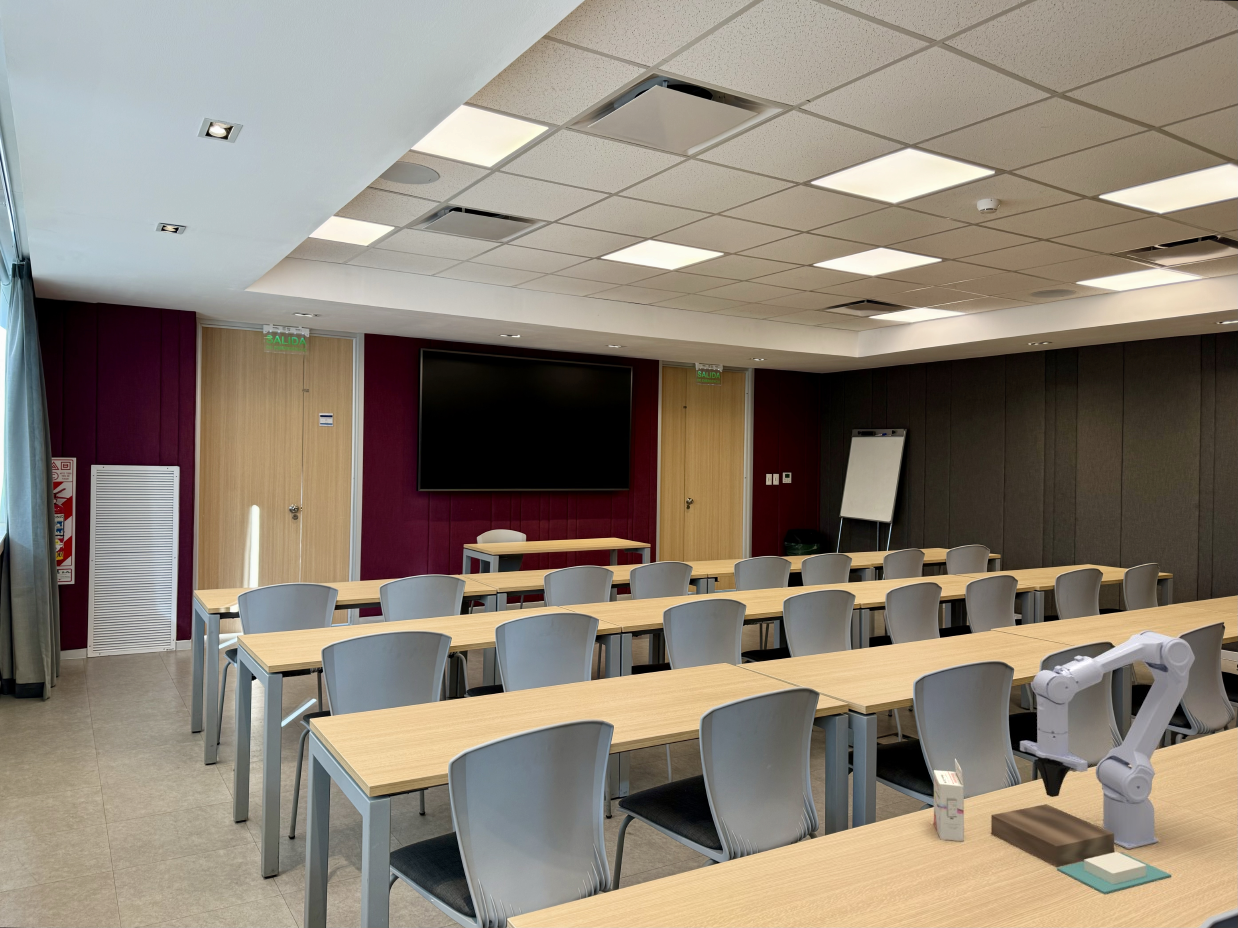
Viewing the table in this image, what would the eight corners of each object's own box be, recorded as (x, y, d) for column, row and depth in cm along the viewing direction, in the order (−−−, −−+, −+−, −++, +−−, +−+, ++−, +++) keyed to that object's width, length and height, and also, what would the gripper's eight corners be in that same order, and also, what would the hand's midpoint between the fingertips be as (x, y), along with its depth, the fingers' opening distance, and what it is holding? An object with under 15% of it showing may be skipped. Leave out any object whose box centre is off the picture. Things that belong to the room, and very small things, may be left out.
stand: (1046, 822, 182) (1046, 803, 182) (1114, 853, 168) (1114, 833, 168) (991, 833, 176) (991, 814, 176) (1056, 866, 162) (1056, 846, 162)
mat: (1121, 854, 167) (1121, 852, 167) (1171, 876, 158) (1171, 874, 158) (1056, 869, 160) (1056, 867, 160) (1104, 894, 151) (1104, 891, 151)
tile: (1146, 865, 157) (1146, 875, 157) (1116, 851, 163) (1116, 861, 163) (1113, 873, 154) (1113, 884, 154) (1084, 859, 160) (1084, 869, 159)
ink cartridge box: (932, 823, 182) (932, 755, 182) (956, 825, 181) (956, 757, 181) (939, 839, 173) (939, 768, 174) (964, 842, 172) (964, 770, 173)
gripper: (1009, 722, 179) (1009, 785, 179) (1070, 742, 165) (1070, 810, 165) (1033, 718, 182) (1033, 781, 181) (1094, 738, 168) (1094, 805, 168)
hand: (1052, 795), depth 173 cm, fingers closed
